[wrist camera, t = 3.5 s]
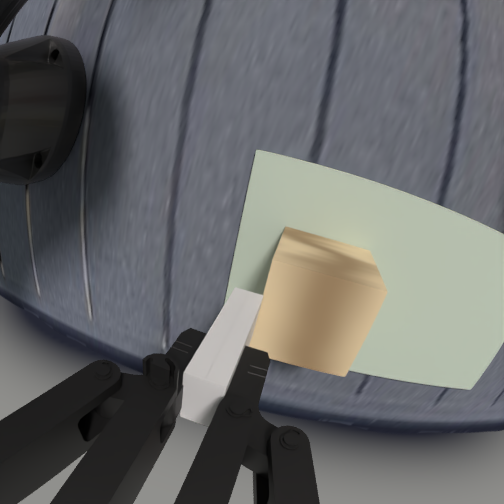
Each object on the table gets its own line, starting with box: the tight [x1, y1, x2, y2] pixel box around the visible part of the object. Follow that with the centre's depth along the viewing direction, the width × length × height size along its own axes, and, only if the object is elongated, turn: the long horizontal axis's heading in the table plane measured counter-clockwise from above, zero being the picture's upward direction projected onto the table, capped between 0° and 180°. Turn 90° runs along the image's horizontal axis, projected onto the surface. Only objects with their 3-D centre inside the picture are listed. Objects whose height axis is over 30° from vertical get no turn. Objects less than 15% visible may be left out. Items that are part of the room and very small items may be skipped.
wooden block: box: [249, 226, 388, 377], centre depth 18 cm, size 6×6×6 cm
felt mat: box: [224, 150, 504, 390], centre depth 20 cm, size 26×15×1 cm, turn 78°
